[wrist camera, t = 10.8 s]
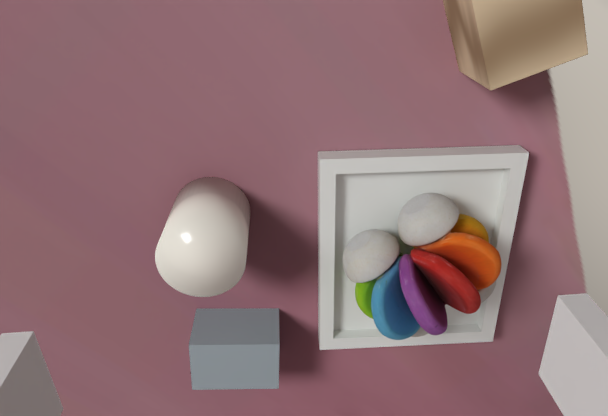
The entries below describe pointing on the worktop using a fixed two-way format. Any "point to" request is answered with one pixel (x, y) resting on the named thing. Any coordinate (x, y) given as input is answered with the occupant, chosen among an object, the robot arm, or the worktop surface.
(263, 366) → the slate block
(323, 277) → the tray
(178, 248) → the white domed cylinder
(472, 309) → the multicoloured rounded cluster
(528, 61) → the oak block
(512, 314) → the worktop surface
